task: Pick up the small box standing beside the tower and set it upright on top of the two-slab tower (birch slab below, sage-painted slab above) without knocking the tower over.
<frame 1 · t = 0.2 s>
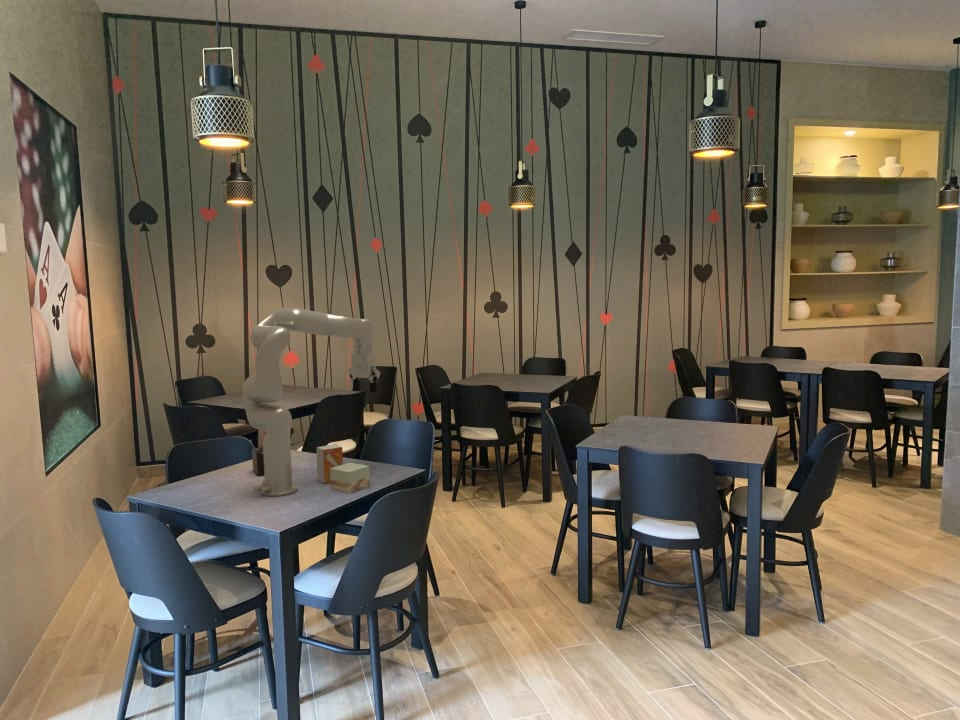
hand: (364, 391, 298), 31 cm above the table, tool pointing down, fingers open, 9 cm apart
small box: (330, 480, 281), on the table
pepper mill: (274, 471, 296), on the table
tower top block: (350, 477, 270), point 4 cm above the table, touching tower base block
tower base block: (350, 488, 270), on the table, touching tower top block
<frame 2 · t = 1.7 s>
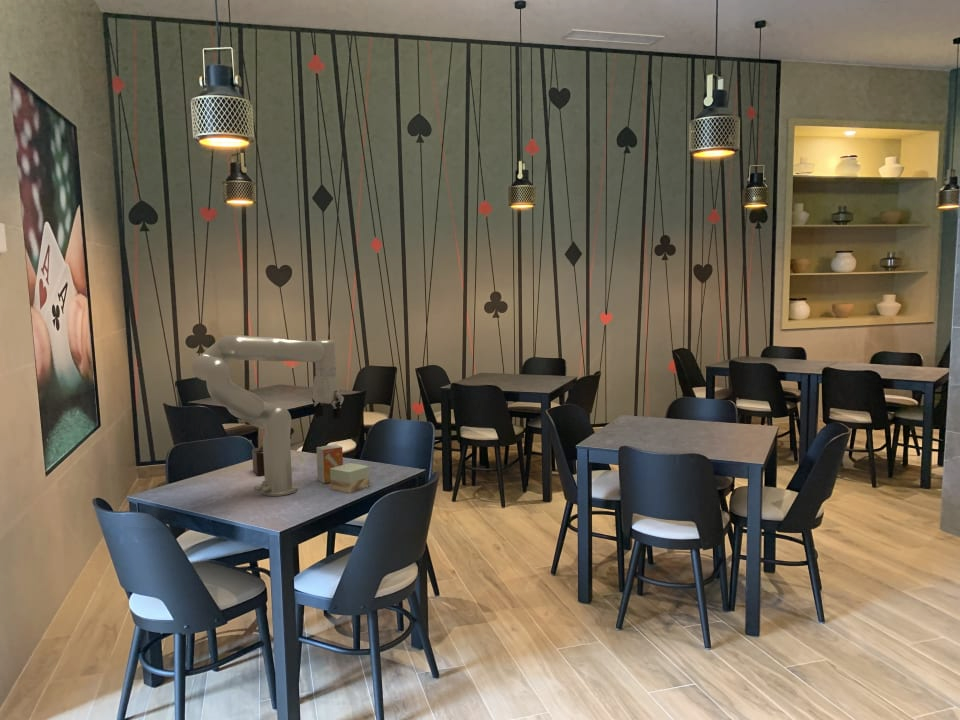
hand: (327, 417, 278), 24 cm above the table, tool pointing down, fingers open, 9 cm apart
nothing on the table moved.
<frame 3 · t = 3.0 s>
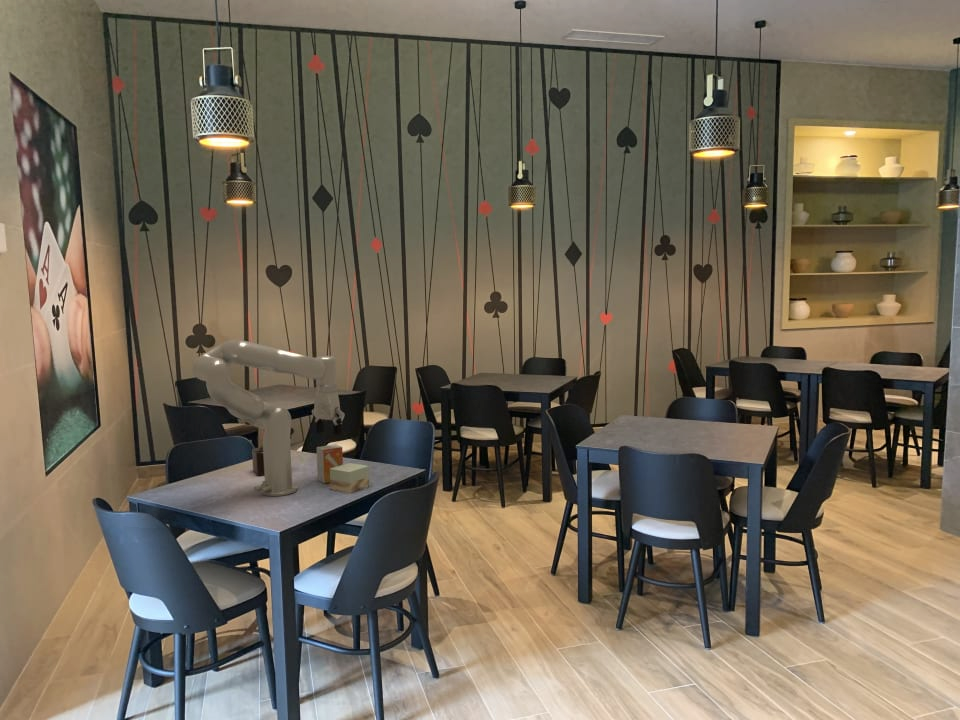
hand: (328, 433, 279), 18 cm above the table, tool pointing down, fingers open, 9 cm apart
nothing on the table moved.
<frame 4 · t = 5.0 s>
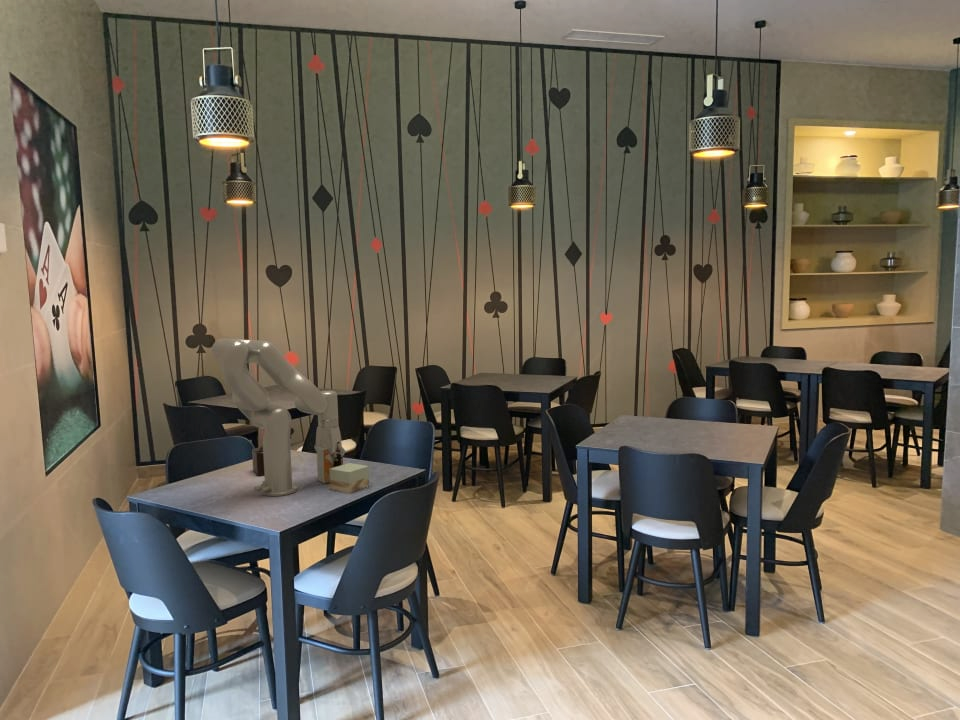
hand: (330, 468, 280), 4 cm above the table, tool pointing down, fingers closed on small box, 7 cm apart
small box: (330, 480, 281), on the table, touching gripper
everything else where it was.
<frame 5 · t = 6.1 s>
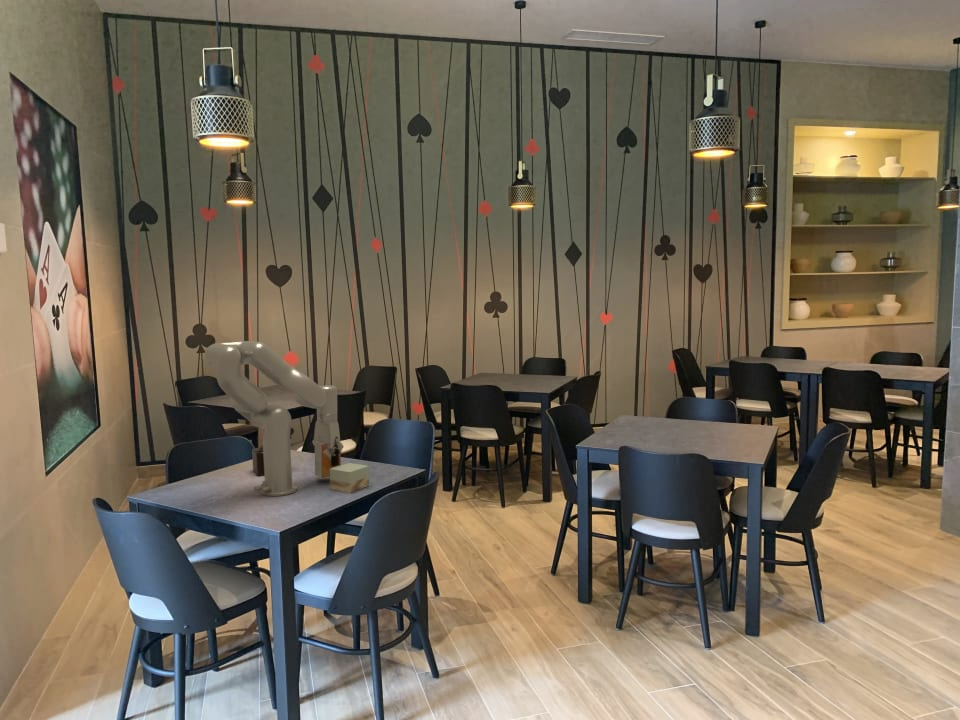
hand: (327, 463, 280), 6 cm above the table, tool pointing down, fingers closed on small box, 7 cm apart
small box: (328, 476, 280), point 2 cm above the table, touching gripper
everything else where it was.
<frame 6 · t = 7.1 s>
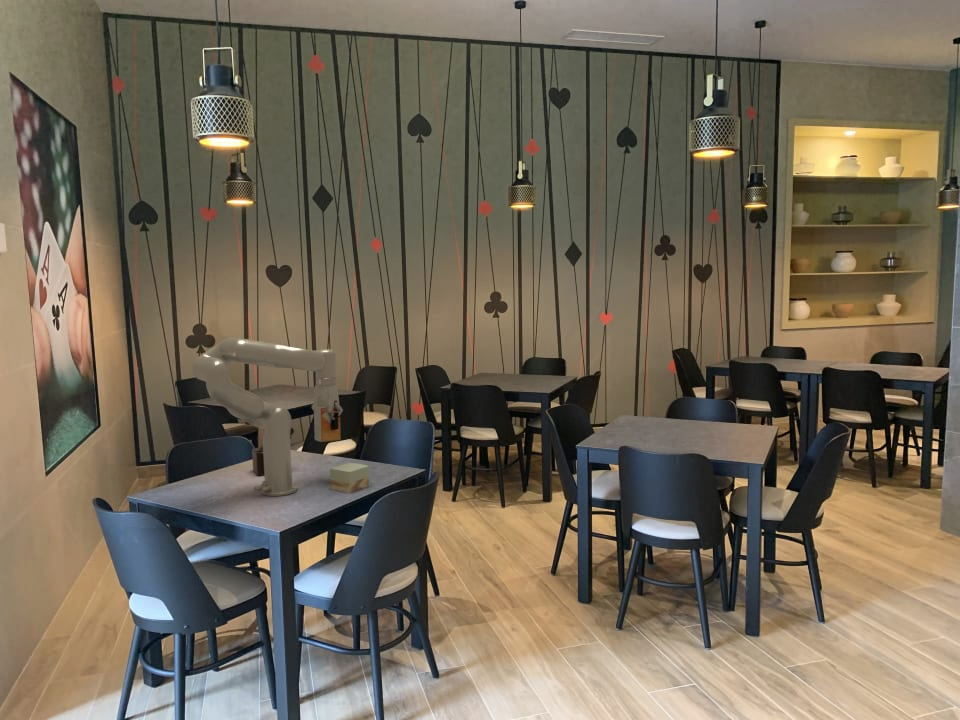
hand: (327, 428, 278), 20 cm above the table, tool pointing down, fingers closed on small box, 7 cm apart
small box: (327, 440, 279), point 16 cm above the table, touching gripper
everything else where it was.
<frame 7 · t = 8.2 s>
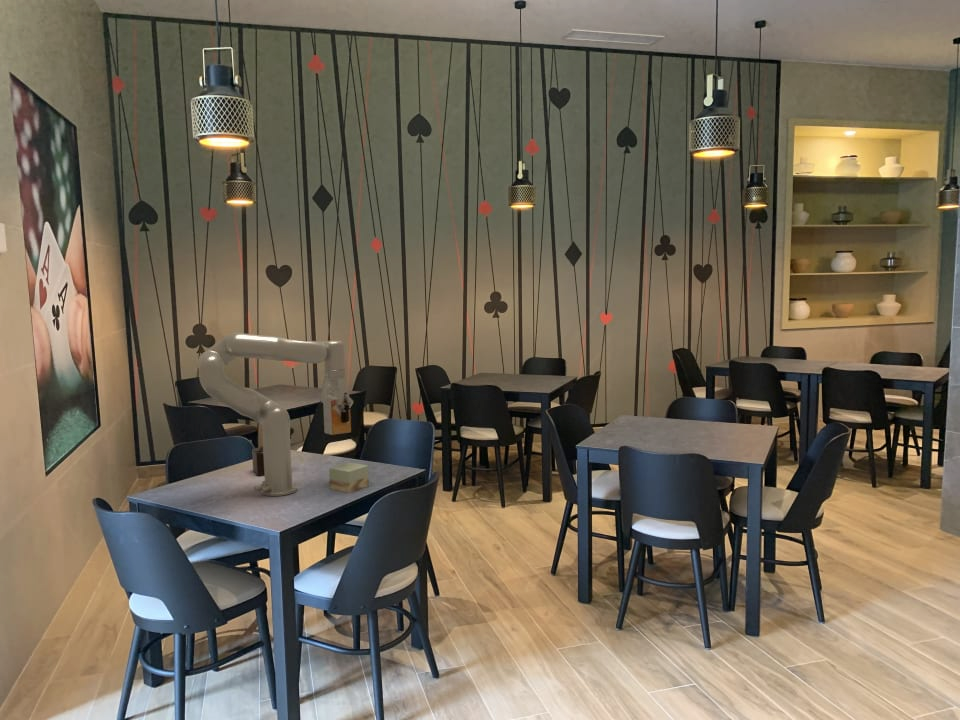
hand: (337, 420, 273), 24 cm above the table, tool pointing down, fingers closed on small box, 7 cm apart
small box: (337, 433, 274), point 19 cm above the table, touching gripper
everything else where it was.
when the fingers open (14 cm above the table, at t = 11.7 s): small box drops 2 cm, resting on tower top block.
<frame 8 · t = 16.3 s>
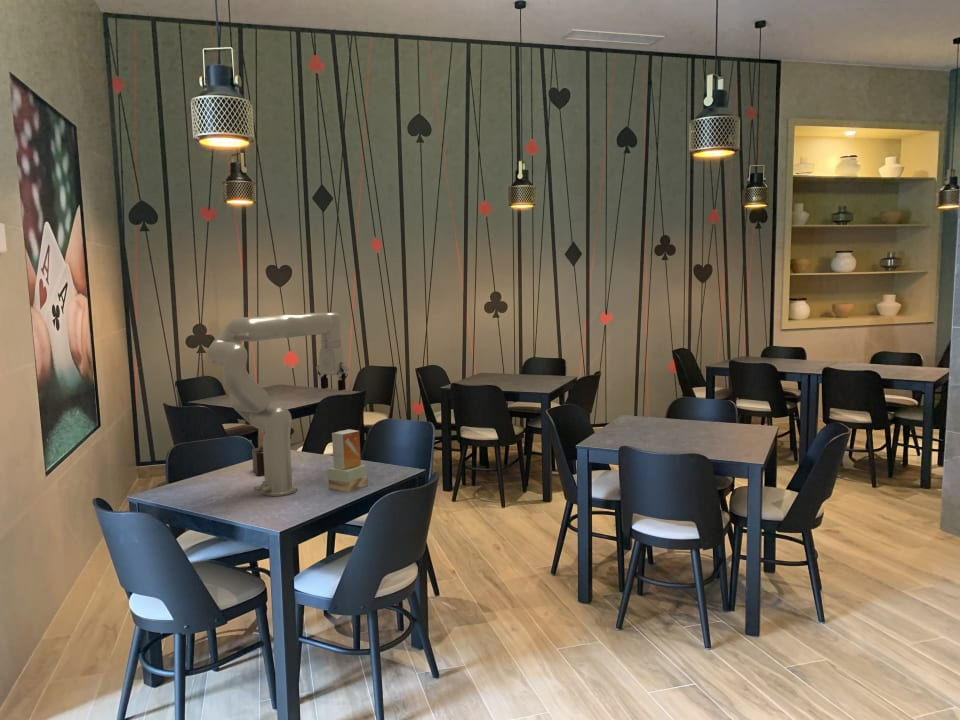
hand: (333, 389, 282), 34 cm above the table, tool pointing down, fingers open, 9 cm apart
small box: (347, 467, 270), point 7 cm above the table, touching tower top block
tower top block: (347, 477, 270), point 4 cm above the table, touching small box, tower base block
at the end: small box 0.3 cm off-centre on the tower top block, point 4.0 cm above the tower top block's base; tower top block 0.3 cm off-centre on the tower base block, point 4.0 cm above the tower base block's base; small box tilted 4° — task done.
